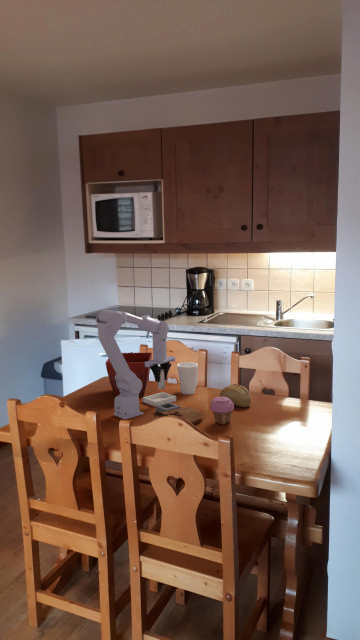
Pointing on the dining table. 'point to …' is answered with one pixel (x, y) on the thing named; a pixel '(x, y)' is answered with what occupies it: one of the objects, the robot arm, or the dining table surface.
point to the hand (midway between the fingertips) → (160, 380)
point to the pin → (161, 379)
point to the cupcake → (222, 409)
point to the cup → (166, 407)
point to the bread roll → (237, 395)
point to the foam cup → (187, 377)
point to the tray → (159, 399)
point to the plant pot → (136, 366)
